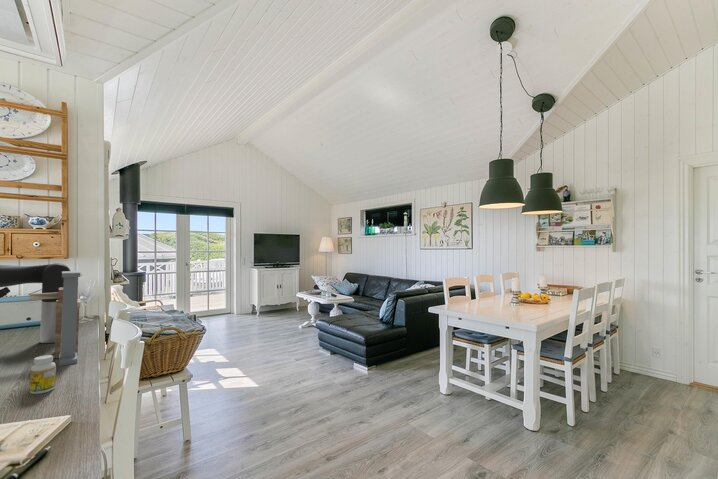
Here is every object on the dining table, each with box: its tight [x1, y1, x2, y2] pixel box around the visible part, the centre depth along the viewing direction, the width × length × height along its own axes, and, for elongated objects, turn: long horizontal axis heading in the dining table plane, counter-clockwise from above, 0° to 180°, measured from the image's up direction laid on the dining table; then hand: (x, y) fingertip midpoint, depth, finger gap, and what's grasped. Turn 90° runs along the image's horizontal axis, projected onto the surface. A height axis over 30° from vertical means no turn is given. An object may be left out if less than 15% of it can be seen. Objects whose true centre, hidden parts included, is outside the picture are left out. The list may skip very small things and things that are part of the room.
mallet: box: [28, 287, 63, 303], centre depth 129 cm, size 8×13×5 cm, turn 130°
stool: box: [53, 298, 81, 359], centre depth 132 cm, size 10×7×20 cm
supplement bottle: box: [29, 354, 57, 395], centre depth 99 cm, size 5×5×10 cm
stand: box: [57, 270, 81, 367], centre depth 124 cm, size 10×5×32 cm, turn 40°
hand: (7, 290), depth 121 cm, fingers open, 8 cm apart
